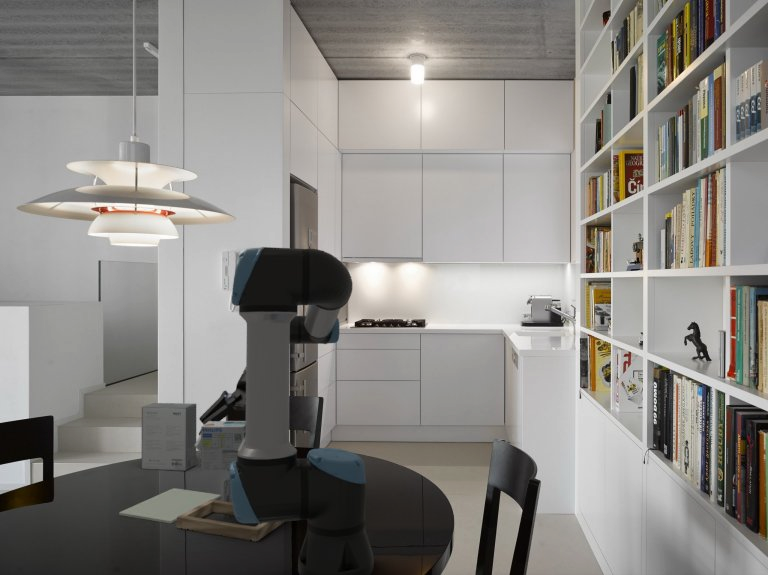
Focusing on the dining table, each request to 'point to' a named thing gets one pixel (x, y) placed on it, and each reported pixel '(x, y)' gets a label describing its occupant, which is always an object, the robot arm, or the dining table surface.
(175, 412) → the hard drive box
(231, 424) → the light bulb box
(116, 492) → the dining table surface
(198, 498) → the sage mat
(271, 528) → the oak frame
